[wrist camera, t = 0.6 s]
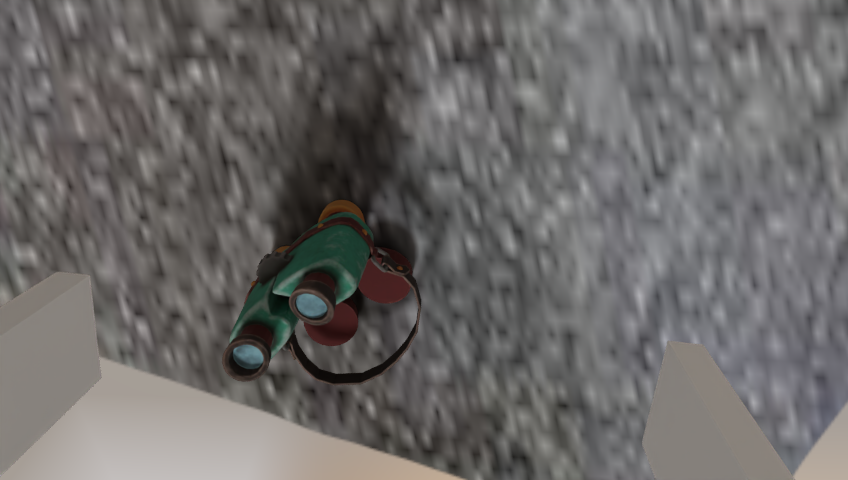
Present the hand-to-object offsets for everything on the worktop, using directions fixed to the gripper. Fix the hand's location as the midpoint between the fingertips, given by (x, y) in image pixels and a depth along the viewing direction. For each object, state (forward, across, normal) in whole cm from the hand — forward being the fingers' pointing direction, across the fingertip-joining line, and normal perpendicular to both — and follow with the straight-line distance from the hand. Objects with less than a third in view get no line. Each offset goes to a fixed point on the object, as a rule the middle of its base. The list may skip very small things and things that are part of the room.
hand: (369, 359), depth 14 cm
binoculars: (+23, -4, -8) cm, 25 cm away
